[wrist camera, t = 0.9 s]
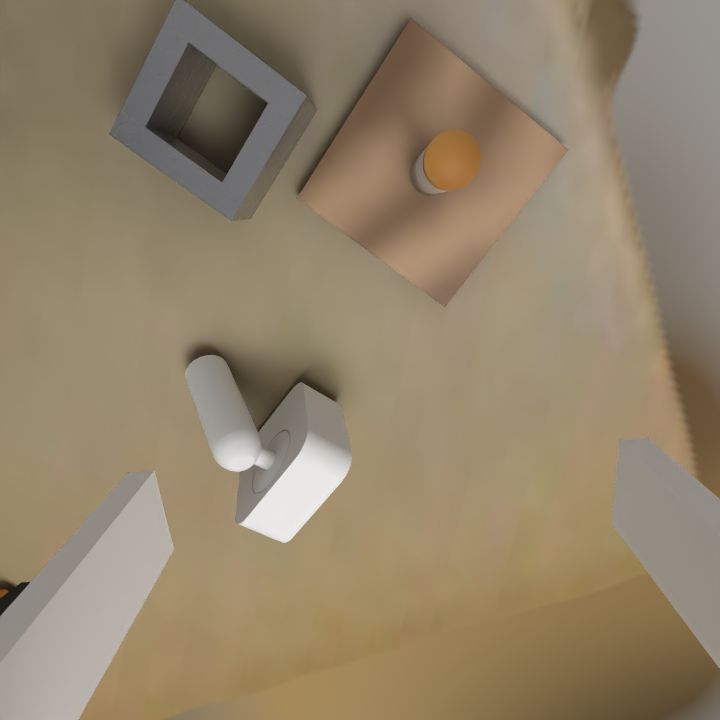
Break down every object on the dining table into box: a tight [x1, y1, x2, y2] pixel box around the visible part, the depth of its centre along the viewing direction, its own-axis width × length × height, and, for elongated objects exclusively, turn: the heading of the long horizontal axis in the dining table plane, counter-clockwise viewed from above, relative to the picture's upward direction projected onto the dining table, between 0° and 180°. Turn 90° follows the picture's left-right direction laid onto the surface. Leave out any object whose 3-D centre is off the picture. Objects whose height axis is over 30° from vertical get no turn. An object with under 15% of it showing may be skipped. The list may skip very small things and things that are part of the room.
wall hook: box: [185, 355, 352, 543], centre depth 33 cm, size 8×10×10 cm
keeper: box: [297, 19, 568, 307], centre depth 26 cm, size 12×12×11 cm
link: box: [109, 0, 316, 221], centre depth 29 cm, size 8×8×4 cm
